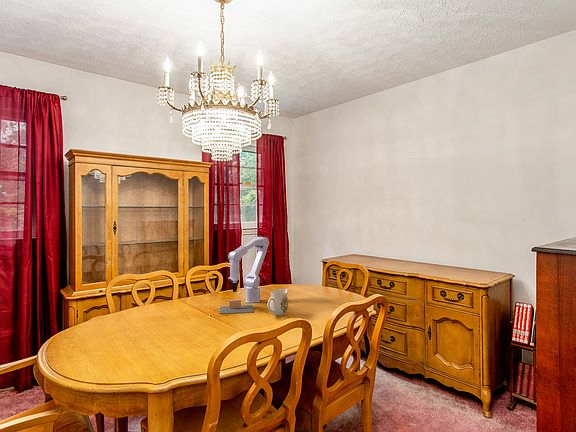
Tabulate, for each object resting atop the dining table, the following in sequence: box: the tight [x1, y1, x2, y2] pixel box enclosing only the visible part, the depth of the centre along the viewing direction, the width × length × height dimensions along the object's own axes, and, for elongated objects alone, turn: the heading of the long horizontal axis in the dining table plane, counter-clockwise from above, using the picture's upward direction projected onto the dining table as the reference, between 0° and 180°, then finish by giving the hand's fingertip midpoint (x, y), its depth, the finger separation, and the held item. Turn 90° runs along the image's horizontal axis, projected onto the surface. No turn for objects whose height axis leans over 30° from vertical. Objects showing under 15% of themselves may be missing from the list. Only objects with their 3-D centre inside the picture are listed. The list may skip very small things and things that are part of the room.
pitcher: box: [266, 287, 289, 317], centre depth 201 cm, size 11×18×14 cm, turn 143°
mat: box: [219, 304, 255, 315], centre depth 210 cm, size 20×14×1 cm
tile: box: [228, 299, 242, 309], centre depth 212 cm, size 7×2×5 cm, turn 99°
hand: (234, 291), depth 217 cm, fingers closed
